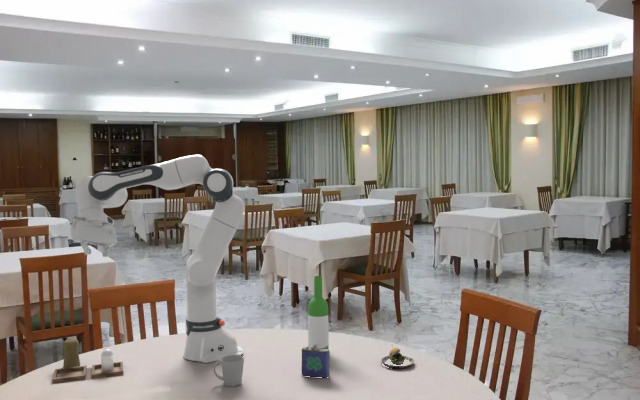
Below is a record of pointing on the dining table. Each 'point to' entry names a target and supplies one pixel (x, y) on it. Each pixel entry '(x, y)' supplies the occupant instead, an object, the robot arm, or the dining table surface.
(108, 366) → the salt cellar
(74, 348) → the olive green stopper
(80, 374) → the cruet board
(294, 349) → the dining table surface
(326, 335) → the wine bottle
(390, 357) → the burger
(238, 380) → the cup
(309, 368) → the flask
